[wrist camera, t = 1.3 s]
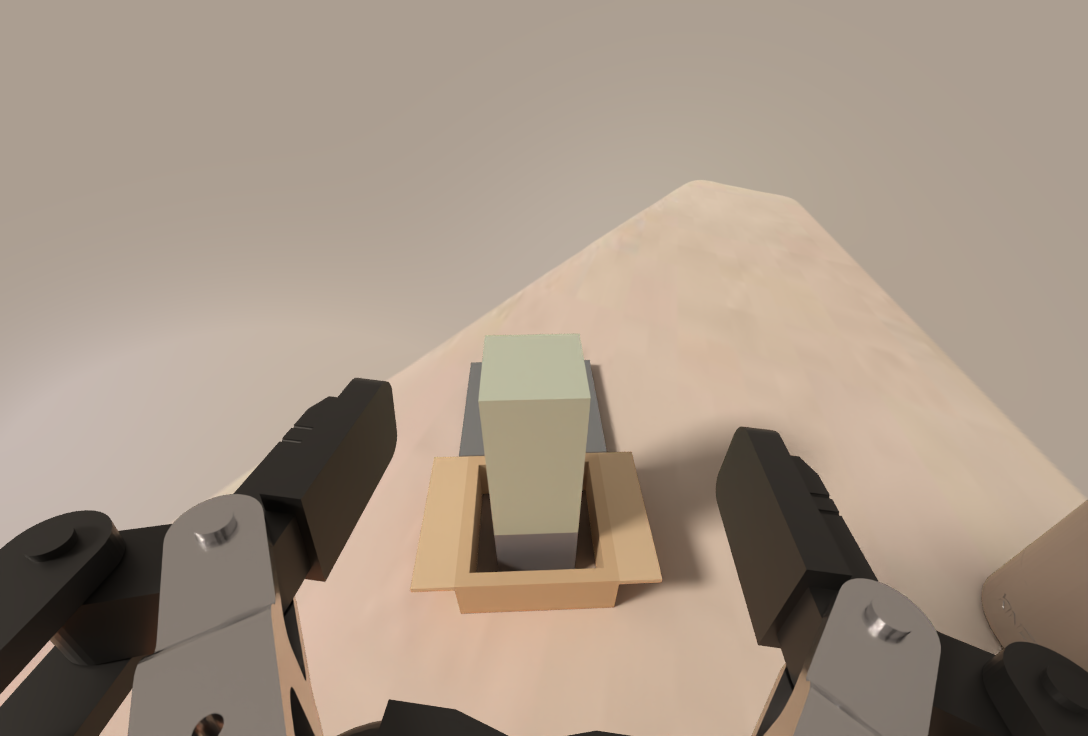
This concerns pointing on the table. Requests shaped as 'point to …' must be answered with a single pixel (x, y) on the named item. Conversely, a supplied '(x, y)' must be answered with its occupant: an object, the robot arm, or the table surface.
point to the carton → (617, 554)
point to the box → (534, 446)
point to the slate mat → (472, 422)
